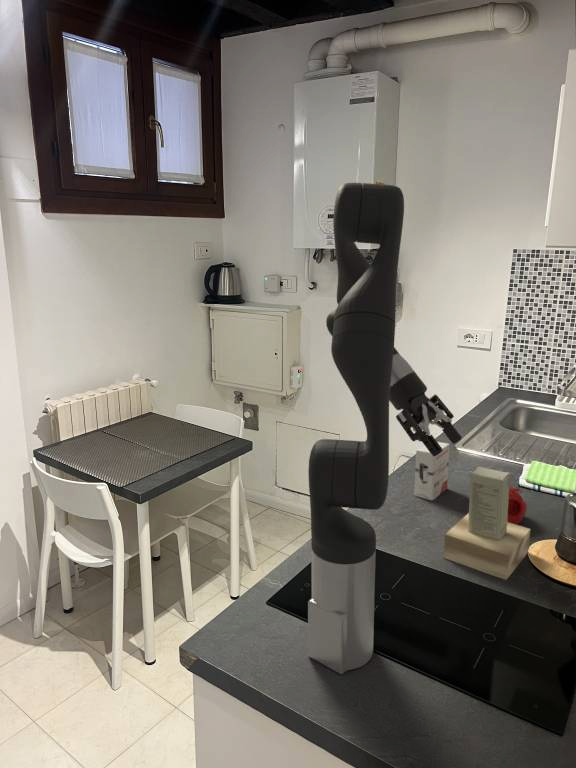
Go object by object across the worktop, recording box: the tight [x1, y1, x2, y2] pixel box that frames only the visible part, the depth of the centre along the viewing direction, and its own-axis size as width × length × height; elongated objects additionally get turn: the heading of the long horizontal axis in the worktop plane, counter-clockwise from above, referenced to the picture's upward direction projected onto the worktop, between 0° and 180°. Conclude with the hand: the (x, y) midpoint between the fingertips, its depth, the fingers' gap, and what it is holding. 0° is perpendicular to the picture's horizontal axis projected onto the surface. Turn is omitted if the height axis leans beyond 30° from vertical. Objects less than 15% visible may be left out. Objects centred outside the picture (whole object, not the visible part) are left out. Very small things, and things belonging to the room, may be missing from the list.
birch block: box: [443, 512, 531, 581], centre depth 112 cm, size 12×12×5 cm
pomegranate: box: [507, 486, 528, 525], centre depth 125 cm, size 10×10×9 cm
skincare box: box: [468, 466, 511, 540], centre depth 110 cm, size 6×4×12 cm
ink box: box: [414, 441, 450, 501], centre depth 138 cm, size 9×5×12 cm, turn 141°
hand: (448, 447), depth 113 cm, fingers open, 8 cm apart
